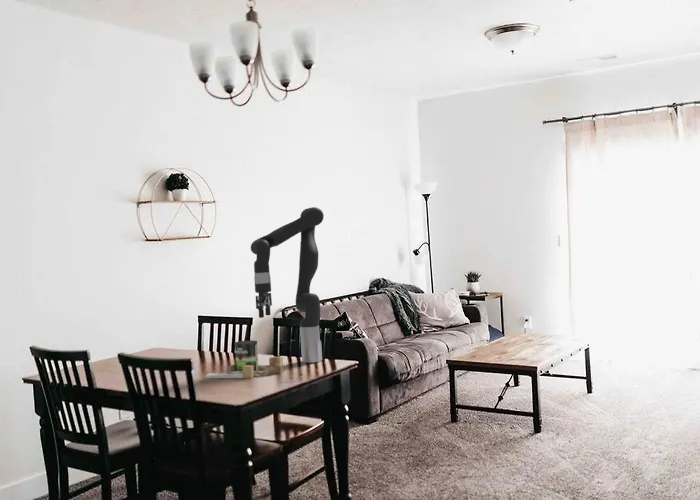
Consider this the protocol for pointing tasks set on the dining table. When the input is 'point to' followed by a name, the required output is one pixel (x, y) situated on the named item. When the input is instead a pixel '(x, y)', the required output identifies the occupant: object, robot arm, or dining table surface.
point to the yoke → (263, 367)
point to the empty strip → (247, 373)
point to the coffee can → (246, 354)
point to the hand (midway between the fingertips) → (264, 316)
